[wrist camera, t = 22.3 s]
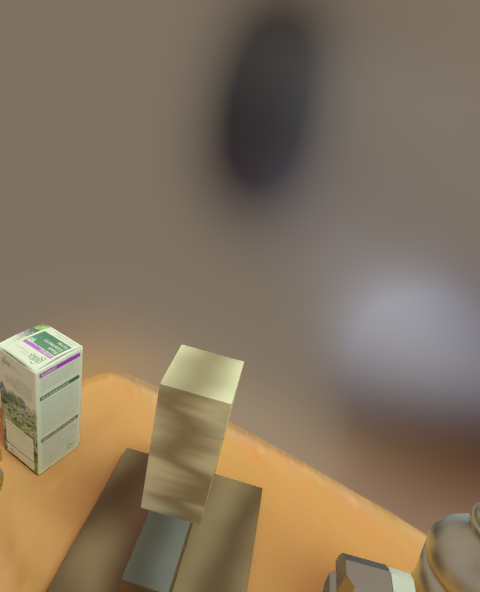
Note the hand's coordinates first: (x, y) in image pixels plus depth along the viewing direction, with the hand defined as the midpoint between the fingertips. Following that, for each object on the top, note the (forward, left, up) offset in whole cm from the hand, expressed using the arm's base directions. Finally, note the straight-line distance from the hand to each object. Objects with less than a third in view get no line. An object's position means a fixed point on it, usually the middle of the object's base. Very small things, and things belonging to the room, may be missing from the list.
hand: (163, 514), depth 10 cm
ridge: (+2, -18, -32) cm, 37 cm away
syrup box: (+19, -25, -32) cm, 45 cm away
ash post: (+2, -18, -23) cm, 29 cm away
